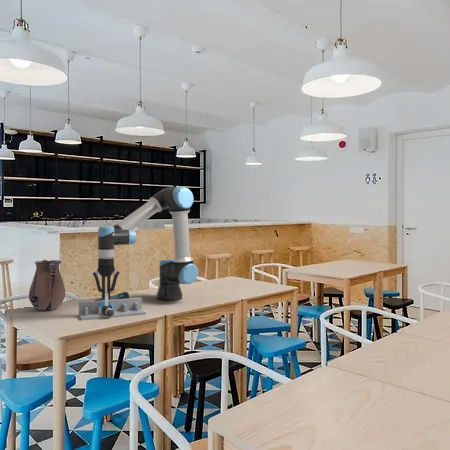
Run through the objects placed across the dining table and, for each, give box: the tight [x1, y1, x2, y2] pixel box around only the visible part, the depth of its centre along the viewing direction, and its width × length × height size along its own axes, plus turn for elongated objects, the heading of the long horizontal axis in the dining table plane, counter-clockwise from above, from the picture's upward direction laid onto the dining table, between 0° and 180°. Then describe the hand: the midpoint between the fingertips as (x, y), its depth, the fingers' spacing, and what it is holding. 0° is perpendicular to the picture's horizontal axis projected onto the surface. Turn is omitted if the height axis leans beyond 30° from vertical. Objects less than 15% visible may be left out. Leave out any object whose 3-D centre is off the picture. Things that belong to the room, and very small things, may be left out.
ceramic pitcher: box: [28, 259, 66, 312], centre depth 230 cm, size 18×21×25 cm
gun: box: [93, 291, 130, 301], centre depth 239 cm, size 4×20×10 cm, turn 116°
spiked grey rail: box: [78, 297, 147, 321], centre depth 220 cm, size 31×10×6 cm, turn 115°
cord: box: [103, 306, 114, 318], centre depth 217 cm, size 10×4×4 cm, turn 25°
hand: (106, 305), depth 219 cm, fingers closed
